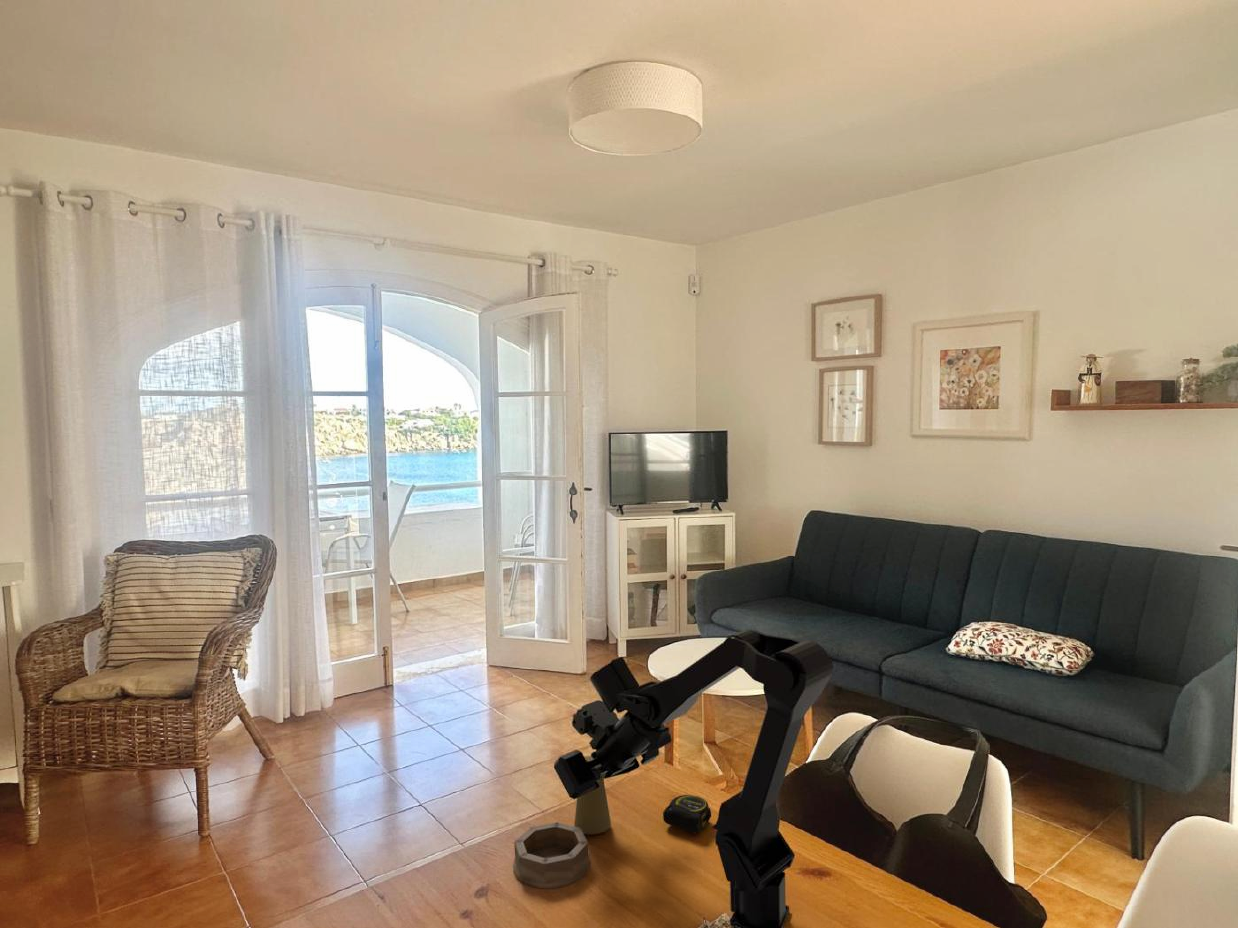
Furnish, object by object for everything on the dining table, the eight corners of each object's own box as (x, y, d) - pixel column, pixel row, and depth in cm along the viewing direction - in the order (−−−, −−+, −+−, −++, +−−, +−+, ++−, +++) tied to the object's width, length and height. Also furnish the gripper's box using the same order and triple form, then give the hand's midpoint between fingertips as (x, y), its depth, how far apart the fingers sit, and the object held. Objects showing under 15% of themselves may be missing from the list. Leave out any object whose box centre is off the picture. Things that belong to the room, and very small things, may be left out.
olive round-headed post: (606, 835, 121) (604, 768, 120) (570, 832, 122) (567, 766, 122) (614, 816, 127) (612, 752, 126) (579, 813, 128) (577, 750, 128)
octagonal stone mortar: (603, 853, 117) (602, 831, 117) (564, 896, 107) (563, 872, 107) (540, 836, 123) (540, 815, 122) (497, 875, 112) (497, 852, 112)
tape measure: (661, 828, 125) (660, 806, 124) (682, 810, 130) (682, 789, 130) (697, 841, 121) (696, 818, 120) (717, 821, 126) (717, 800, 126)
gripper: (644, 675, 127) (601, 723, 136) (559, 707, 114) (517, 757, 122) (681, 733, 122) (634, 779, 130) (596, 774, 109) (550, 822, 117)
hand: (585, 782), depth 125 cm, fingers closed on olive round-headed post, 5 cm apart
